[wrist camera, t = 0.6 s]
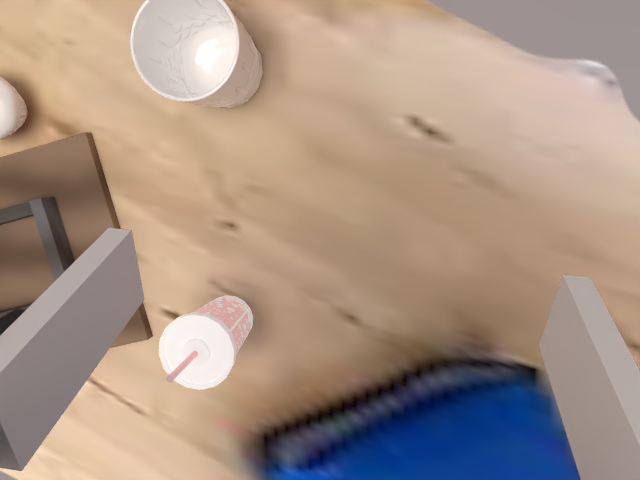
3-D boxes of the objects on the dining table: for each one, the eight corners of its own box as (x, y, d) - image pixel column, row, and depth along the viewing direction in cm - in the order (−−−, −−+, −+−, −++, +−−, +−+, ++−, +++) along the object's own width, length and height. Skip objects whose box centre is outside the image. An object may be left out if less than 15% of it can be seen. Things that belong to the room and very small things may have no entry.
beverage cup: (187, 304, 49) (111, 358, 35) (241, 276, 48) (185, 320, 34) (218, 359, 49) (155, 434, 36) (272, 333, 48) (229, 399, 35)
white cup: (255, 126, 46) (220, 116, 36) (173, 99, 46) (117, 81, 37) (281, 38, 45) (253, 2, 35) (197, 11, 45) (145, -32, 35)
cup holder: (152, 336, 50) (138, 346, 47) (-25, 375, 53) (-49, 387, 50) (91, 133, 48) (72, 131, 45) (-91, 186, 51) (-120, 187, 48)
